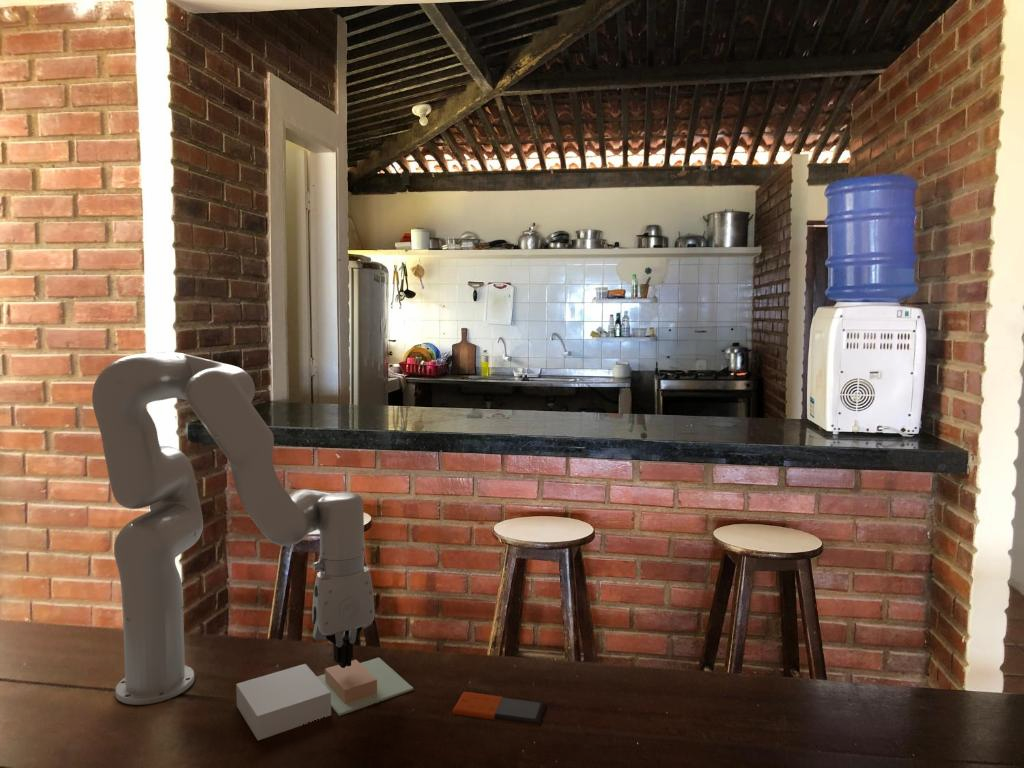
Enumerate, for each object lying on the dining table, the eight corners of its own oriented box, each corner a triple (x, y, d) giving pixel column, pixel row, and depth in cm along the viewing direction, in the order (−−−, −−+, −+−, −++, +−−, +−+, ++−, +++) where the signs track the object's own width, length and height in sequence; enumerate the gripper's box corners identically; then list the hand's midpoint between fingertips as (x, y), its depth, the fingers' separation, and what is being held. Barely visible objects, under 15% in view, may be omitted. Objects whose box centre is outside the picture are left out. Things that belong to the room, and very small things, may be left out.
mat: (309, 680, 125) (309, 678, 125) (378, 659, 133) (378, 657, 133) (339, 715, 114) (339, 713, 113) (413, 690, 122) (413, 687, 122)
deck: (236, 706, 116) (236, 683, 116) (305, 684, 123) (305, 663, 123) (257, 740, 107) (257, 716, 106) (331, 715, 114) (330, 692, 113)
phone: (463, 689, 121) (545, 700, 117) (463, 696, 121) (545, 708, 118) (451, 709, 115) (538, 721, 111) (451, 716, 115) (538, 729, 111)
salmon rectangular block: (356, 659, 127) (356, 672, 127) (325, 668, 123) (325, 681, 124) (377, 679, 120) (377, 693, 120) (344, 690, 116) (344, 704, 116)
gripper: (308, 579, 112) (310, 685, 113) (390, 561, 121) (391, 660, 122) (292, 566, 118) (294, 667, 119) (372, 550, 127) (373, 644, 128)
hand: (343, 663), depth 121 cm, fingers closed
